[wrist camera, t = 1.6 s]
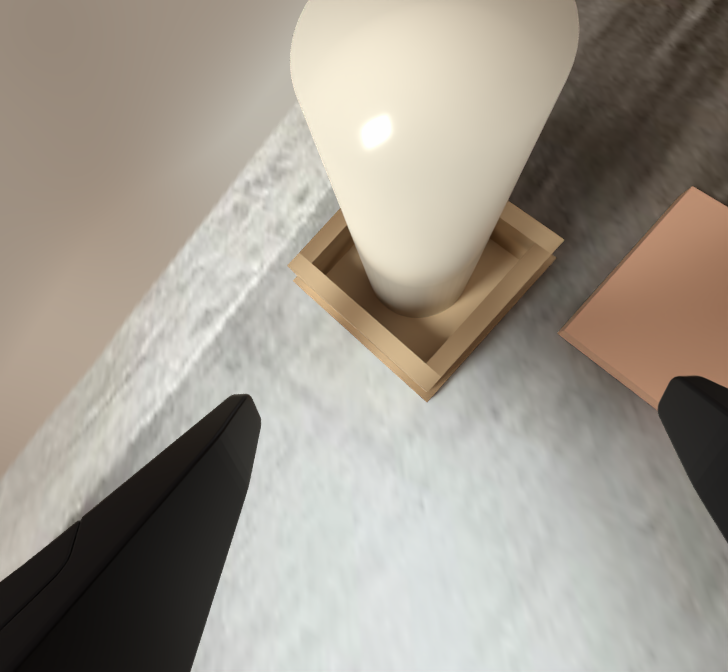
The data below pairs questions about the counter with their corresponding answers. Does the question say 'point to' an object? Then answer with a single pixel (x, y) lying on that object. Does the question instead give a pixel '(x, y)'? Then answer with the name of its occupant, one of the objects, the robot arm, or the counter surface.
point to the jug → (428, 125)
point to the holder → (435, 333)
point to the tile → (663, 303)
